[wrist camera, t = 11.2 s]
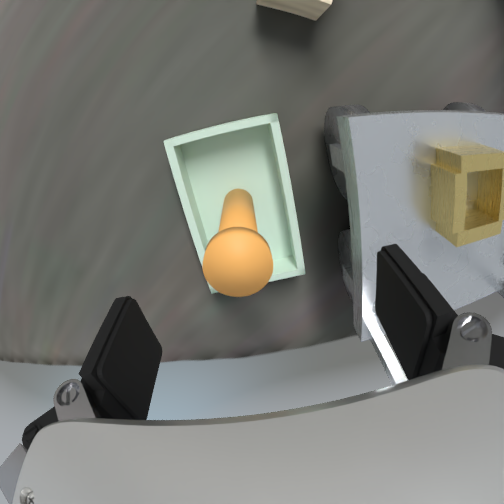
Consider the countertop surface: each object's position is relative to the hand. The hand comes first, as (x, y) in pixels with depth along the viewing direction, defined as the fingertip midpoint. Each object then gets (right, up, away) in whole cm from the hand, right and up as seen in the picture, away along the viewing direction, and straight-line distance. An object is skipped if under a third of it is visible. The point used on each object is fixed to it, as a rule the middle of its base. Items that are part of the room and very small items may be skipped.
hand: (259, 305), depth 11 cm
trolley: (+14, +8, +14) cm, 21 cm away
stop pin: (-1, +6, +13) cm, 15 cm away
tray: (-1, +6, +14) cm, 15 cm away
